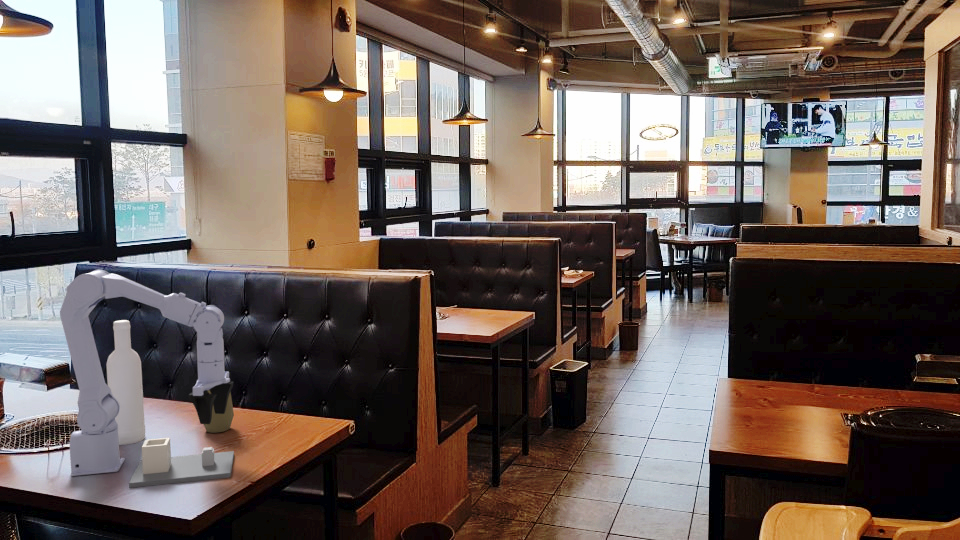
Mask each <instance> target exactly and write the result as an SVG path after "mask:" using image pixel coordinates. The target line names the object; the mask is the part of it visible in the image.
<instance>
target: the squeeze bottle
mask: <svg viewBox="0 0 960 540" xmlns="http://www.w3.org/2000/svg"><path fill="white" fill-rule="evenodd" d="M208 392H209V394H211V392H210V390H208ZM231 393H232V392H231V391H230V394H229V397H228V401H227V406H226V411H225V413H224V414H215V411H214V405H213V408H212V419H211V423H210V424H203V426H204V428H205V431H206V432H207V433H213V434H214V433H222V432H227V431H228V430H230V429H231V426H232V422H233V419H234V416H235V415H234V414H235V413H234V406H233V400H232V399H233V398H232V394H231Z"/></svg>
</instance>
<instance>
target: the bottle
mask: <svg viewBox="0 0 960 540" xmlns="http://www.w3.org/2000/svg"><path fill="white" fill-rule="evenodd" d="M112 325H113V326H112V330H113V338H114V339H113V340H114V350H112V352H111V353H110V354H109V355H108V357H107V361H106V378H107V381H106V382H107V385H108V386H109V387H110V389H111V392H112V395H113V396H114V397H115V399H116V400H117V401H118V403H119V406H120V410H119V413H118V415H117V416H116V417H115V421H116V422H117V424H118V437H119V446H127V445H132V444H137V443H140V442H142V441H143V440H145V438H146V425H145V408H144V392H143V391H144V390H143V389H144V388H143V371H142V361H141V357H140V355H139V354H138V352H137V351H135V349H133V348H132V343H131V342H132V340H131V339H132V338H131V322H130V321H129V320H127V319H121V320H120V319H119V320H115V321H113V323H112Z"/></svg>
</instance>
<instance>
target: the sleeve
mask: <svg viewBox="0 0 960 540" xmlns="http://www.w3.org/2000/svg"><path fill="white" fill-rule="evenodd" d="M171 457H172V451H171V437H163V438H162V437H161V438H160V437H159V438H151V439H144V441H143V443H142V446H141V458H142V459H141V460H142V462H143V474H151V473H161V472H168V471H169V468H170V466H171Z"/></svg>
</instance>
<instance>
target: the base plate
mask: <svg viewBox="0 0 960 540" xmlns="http://www.w3.org/2000/svg"><path fill="white" fill-rule="evenodd" d="M234 458H235V451H234V450H232V451H222V452H221V451H220V452H215V448H213V446H210V447H209V446H208V447H203V449H202V451H201V453H200V454H188V455H180V456H179V455H178V456H171V466H170V468H169V471H168V472H161V473H151V474H143V462H142V459H140V461H139V463H138V464H137V466H136V469H135V471H134V473H133V474H132V476H131V479H130V481H129V482H128V488H129V489H130V488H140V487H150V486H158V485H159V486H161V485H170V484H178V483H180V484H181V483H188V482H189V483H190V482H197V481H198V482H199V481H200V482H201V481H209V480H217V479H218V480H219V479H225V478H226V479H227V478H229V479H230V478H231V475H232V470H233V464H234V463H233V462H234Z"/></svg>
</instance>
